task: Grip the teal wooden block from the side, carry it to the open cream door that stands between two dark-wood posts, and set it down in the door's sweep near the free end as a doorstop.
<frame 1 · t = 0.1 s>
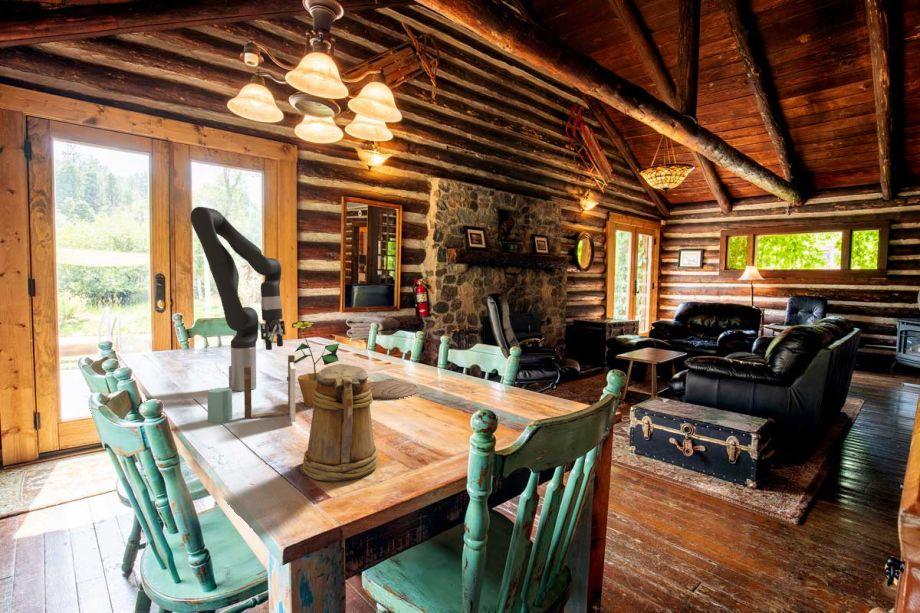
hand: (274, 348, 182), 17 cm above the table, tool pointing down, fingers open, 8 cm apart
cream door: (290, 391, 147), point 9 cm above the table, hinge at 90.0°
teal block: (220, 420, 146), on the table
door frame: (291, 413, 154), on the table
potted plant: (315, 404, 167), on the table
trivet: (387, 392, 186), on the table
tankard: (342, 471, 112), on the table
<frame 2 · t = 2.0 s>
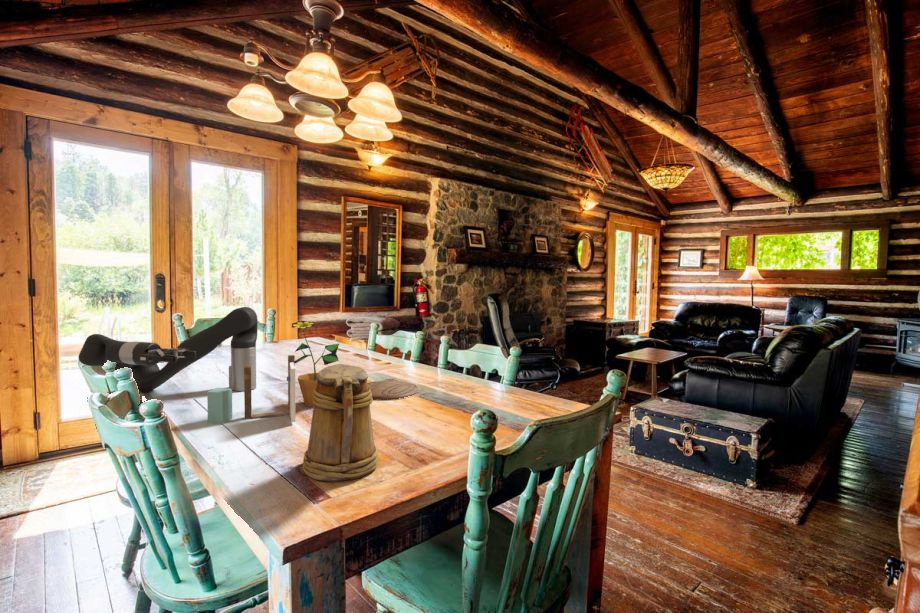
hand: (186, 356, 146), 20 cm above the table, tool horizontal, fingers open, 8 cm apart
nothing on the table moved.
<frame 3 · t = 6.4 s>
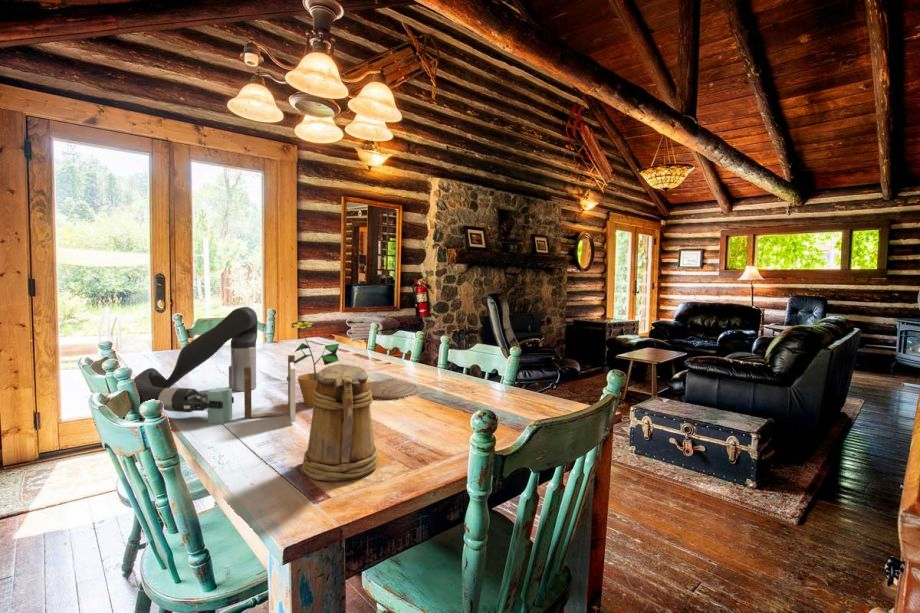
hand: (227, 402, 145), 6 cm above the table, tool horizontal, fingers closed on teal block, 5 cm apart
teal block: (220, 420, 146), on the table, touching gripper
everything else where it was.
when the fingers open (7 cm above the table, at t = 14.2 s): teal block stays where it is, on the table.
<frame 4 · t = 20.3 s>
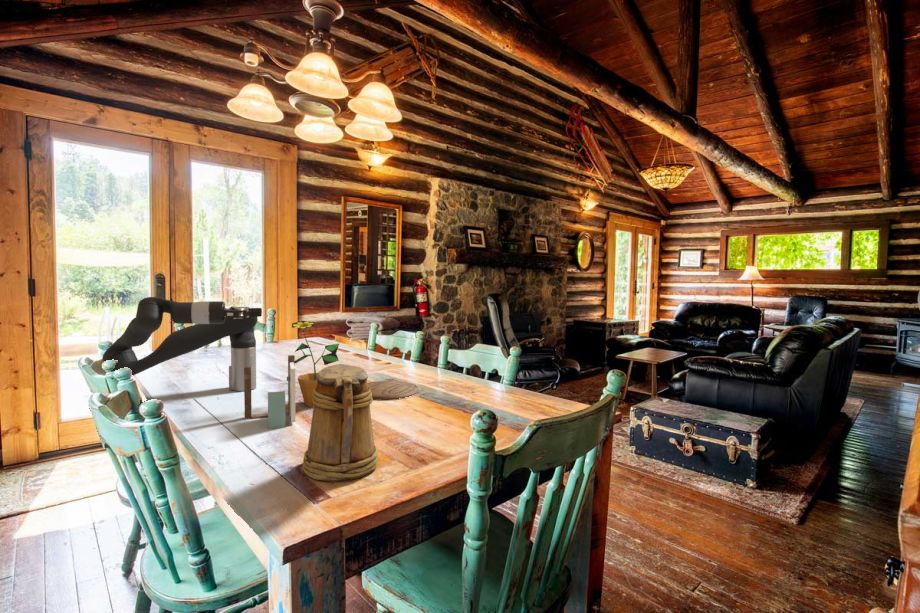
hand: (261, 312, 157), 34 cm above the table, tool horizontal, fingers open, 8 cm apart
teal block: (276, 424, 143), on the table
everything else where it was.
at the end: teal block inside the target area (0.2 cm from its centre), on the table; teal block tilted 0°; cream door at +90° (first picture: +90°) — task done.
